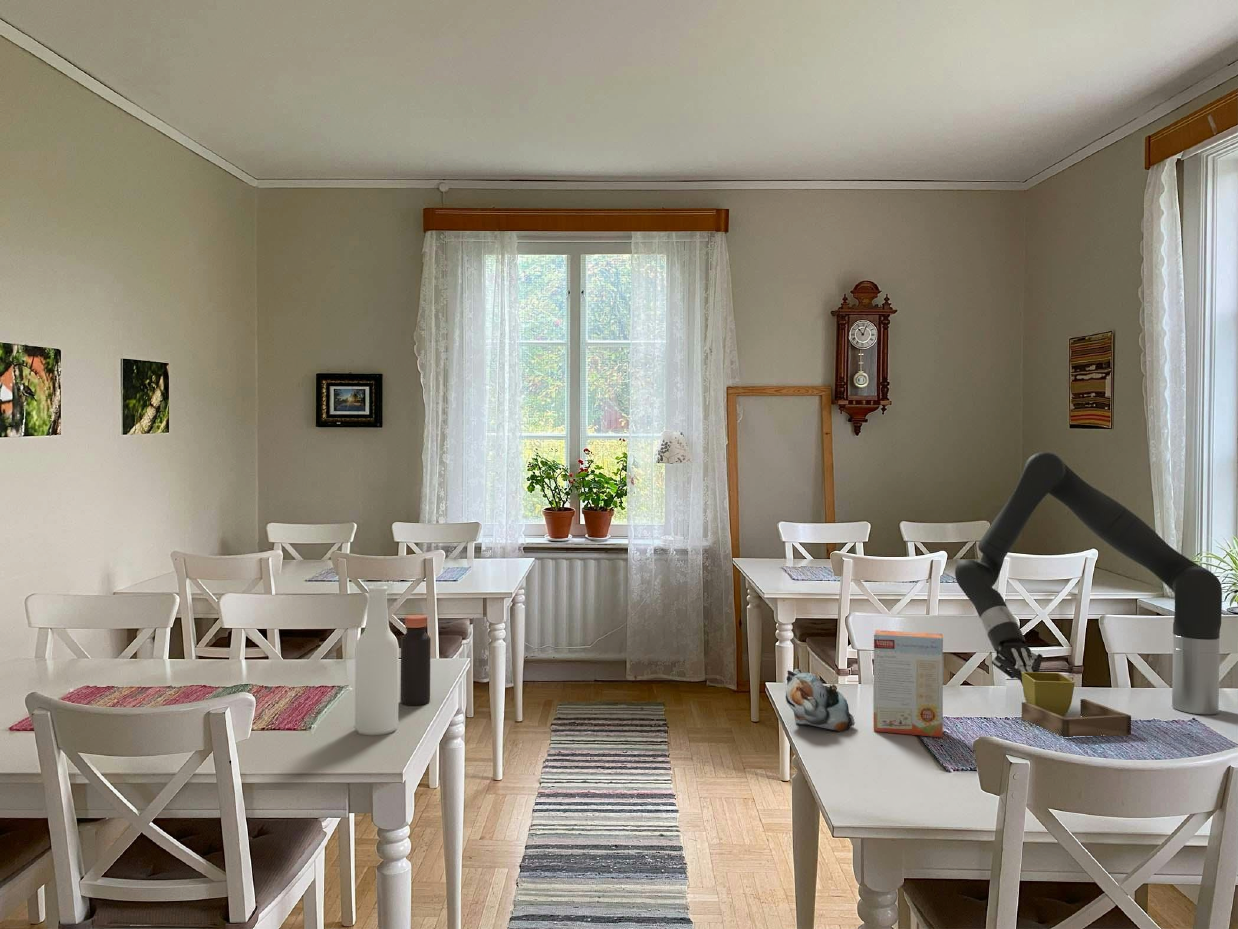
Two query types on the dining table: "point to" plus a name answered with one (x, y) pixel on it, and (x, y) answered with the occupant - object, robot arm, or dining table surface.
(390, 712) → the alcohol
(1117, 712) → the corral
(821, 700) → the lucky cat figurine
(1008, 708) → the dining table surface
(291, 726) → the dining table surface
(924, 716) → the cracker box
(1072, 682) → the flower pot
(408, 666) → the bottle
